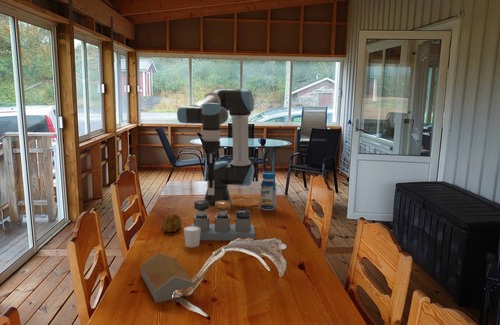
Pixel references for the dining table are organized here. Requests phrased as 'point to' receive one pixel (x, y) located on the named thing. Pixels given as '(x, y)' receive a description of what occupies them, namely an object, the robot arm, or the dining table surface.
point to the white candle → (192, 236)
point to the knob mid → (222, 208)
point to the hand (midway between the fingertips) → (210, 194)
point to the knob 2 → (243, 213)
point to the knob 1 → (201, 208)
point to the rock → (171, 223)
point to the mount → (224, 228)
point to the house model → (160, 265)
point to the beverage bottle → (268, 191)
